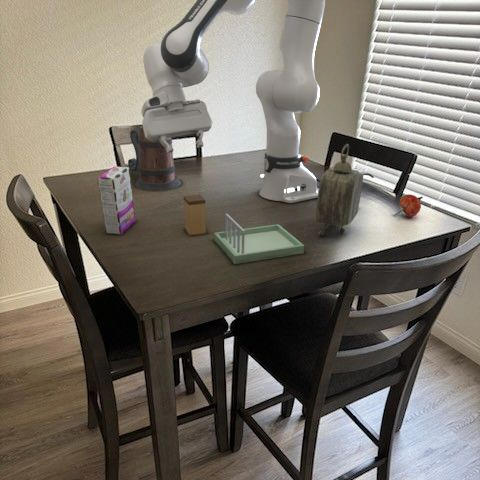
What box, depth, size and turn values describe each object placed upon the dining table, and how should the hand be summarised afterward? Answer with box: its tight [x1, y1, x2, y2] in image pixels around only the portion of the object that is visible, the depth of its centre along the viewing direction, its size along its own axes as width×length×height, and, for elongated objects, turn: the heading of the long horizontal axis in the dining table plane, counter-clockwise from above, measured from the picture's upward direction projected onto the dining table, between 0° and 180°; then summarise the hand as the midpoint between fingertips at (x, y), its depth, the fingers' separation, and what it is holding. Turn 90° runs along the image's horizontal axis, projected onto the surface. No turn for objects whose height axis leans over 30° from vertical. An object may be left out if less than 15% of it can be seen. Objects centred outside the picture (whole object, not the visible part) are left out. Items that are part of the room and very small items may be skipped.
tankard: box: [127, 125, 182, 192], centre depth 174 cm, size 24×17×20 cm
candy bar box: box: [97, 165, 136, 235], centre depth 137 cm, size 11×5×16 cm, turn 168°
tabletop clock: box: [315, 143, 364, 237], centre depth 135 cm, size 14×9×25 cm, turn 155°
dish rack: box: [213, 213, 305, 265], centre depth 130 cm, size 20×16×8 cm
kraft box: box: [183, 194, 207, 236], centre depth 138 cm, size 5×5×10 cm
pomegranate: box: [393, 193, 424, 218], centre depth 153 cm, size 7×7×10 cm
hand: (185, 149), depth 139 cm, fingers open, 8 cm apart
